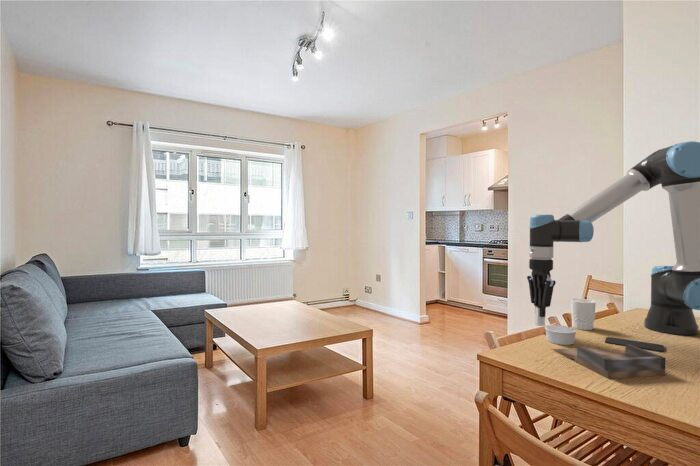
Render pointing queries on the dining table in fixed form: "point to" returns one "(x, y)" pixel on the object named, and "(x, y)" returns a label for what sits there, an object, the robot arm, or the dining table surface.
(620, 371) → the dock
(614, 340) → the phone
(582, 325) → the white cup
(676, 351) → the dining table surface
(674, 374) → the dining table surface
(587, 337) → the dining table surface
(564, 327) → the ramekin
